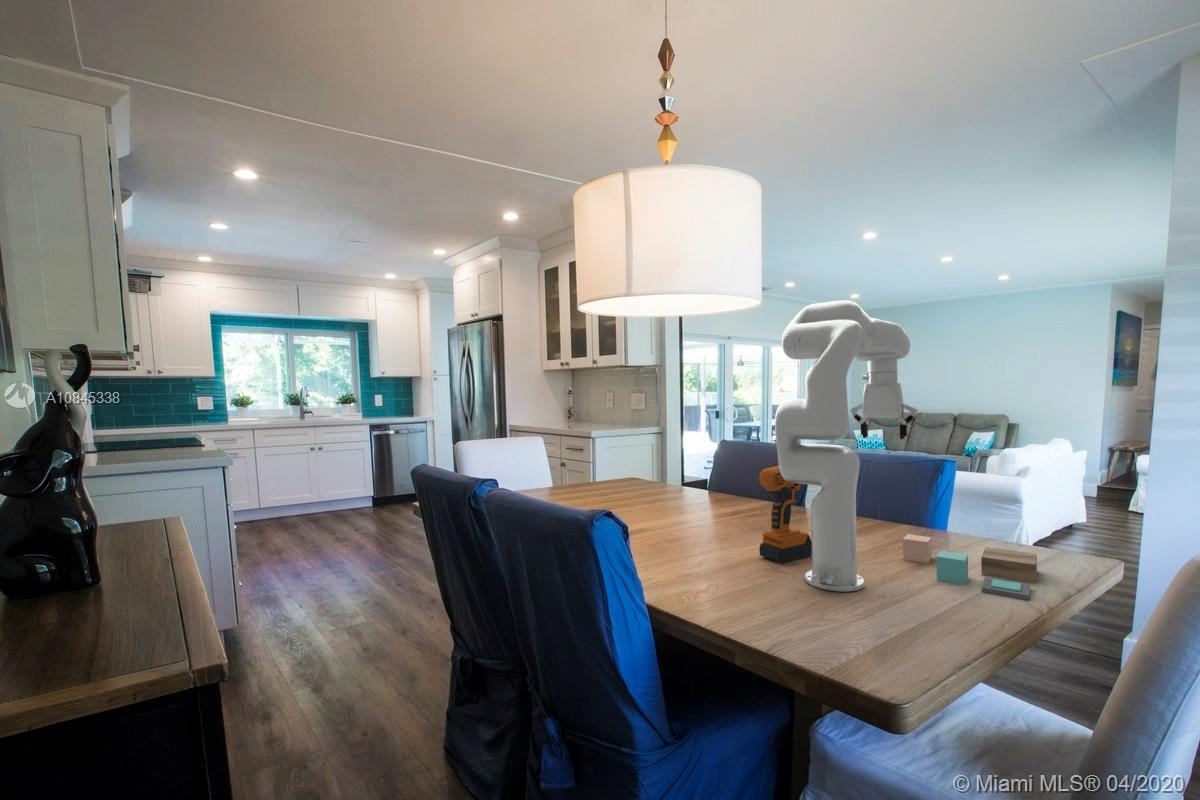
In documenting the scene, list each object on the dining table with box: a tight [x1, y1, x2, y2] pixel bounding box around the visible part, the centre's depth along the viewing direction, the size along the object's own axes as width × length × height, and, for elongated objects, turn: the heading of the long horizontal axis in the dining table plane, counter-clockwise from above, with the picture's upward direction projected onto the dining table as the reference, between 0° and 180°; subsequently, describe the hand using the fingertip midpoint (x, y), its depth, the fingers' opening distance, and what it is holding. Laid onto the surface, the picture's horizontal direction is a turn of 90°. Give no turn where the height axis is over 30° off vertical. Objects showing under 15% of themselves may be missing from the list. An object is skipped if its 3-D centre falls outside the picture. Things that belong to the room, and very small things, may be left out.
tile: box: [981, 576, 1031, 601], centre depth 118 cm, size 8×8×1 cm
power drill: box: [758, 464, 812, 564], centre depth 146 cm, size 22×7×25 cm, turn 122°
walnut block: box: [980, 546, 1038, 584], centre depth 129 cm, size 10×10×4 cm
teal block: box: [936, 550, 969, 585], centre depth 126 cm, size 6×6×6 cm
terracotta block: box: [902, 533, 933, 564], centre depth 141 cm, size 6×6×6 cm
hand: (883, 438), depth 157 cm, fingers open, 9 cm apart
